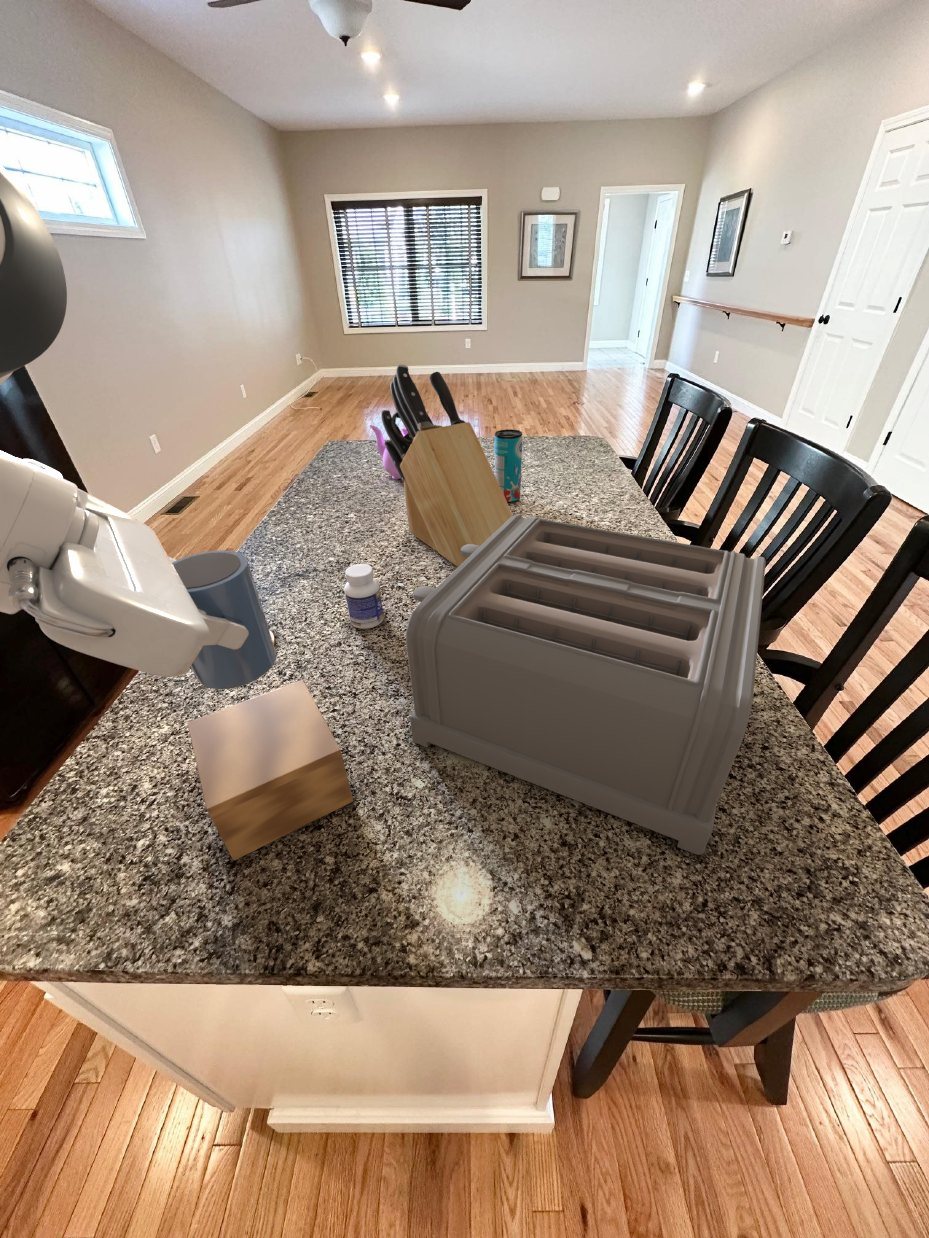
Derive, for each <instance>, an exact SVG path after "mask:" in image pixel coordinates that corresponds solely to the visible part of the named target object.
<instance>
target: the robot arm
mask: <svg viewBox="0 0 929 1238" xmlns="http://www.w3.org/2000/svg"><path fill="white" fill-rule="evenodd" d="M67 289H68V287H67V280H66V274H65V270H64V266H63V262H62V259H61V256H60V253H59V251H58V248H57V246H56V242H55V241H54V238H53V236H52V235H51V233H50V230H49V228H48V227H47V225H46V223H45V221H44V219H43V218H42V216H41V215H40V213H39V211H38V210H37V208H36V206H34V203H33V202H32V201H31V200H30V198H29V197H28V195H27V194H26V192H25V191H24V190H23V189H22V187H21V186H20V185H19V184H18V182H17V181H16V180H15V179H14V178H13V177H12V176H11V174H10V173H9V172H8V171H7V170H6V169H5V167H3V166H2V165H1V164H0V386H2V385H3V384H4V383H5V382H6V381H7V380H8V379H9V378H10V377H11V376H12V374H13V373H14V372H16V371H17V370H19V369H21V368H23V367H24V366H26V365H28V364H30V363H32V362H34V361H35V360H36V359H38V358H39V357H41V356H42V355H43V354H44V353H45V352H46V351H47V350H48V349H49V348H50V347H51V346H52V344H53V343H54V342H55V340H56V339H57V337H58V335H59V334H60V331H61V329H62V328H63V327H62V326H63V325H64V322H65V317H66V313H67V305H68V290H67ZM177 560H178V559H176V558H173V557H170V556H169V555H168V554H167V552H166V550H165V548H164V547H163V545H162V543H161V541H160V539H159V537H158V535H157V534H156V532H155V530H153V529H152V528H151V527H150V526H148V525H147V524H145V523H144V522H142V521H141V520H139V519H138V518H136V517H134V516H133V515H130V514H129V513H127V512H125V511H123V510H121V509H119V508H117V507H115V506H114V505H111V504H110V503H108V502H106V501H104V500H102V499H100V498H98V497H95V496H94V495H92V494H91V493H88V492H86V491H85V490H83V489H80V488H78V486H77V484H76V483H74V482H71V481H69V480H67V479H65V478H64V477H63V474H62V473H61V472H60V471H58V470H56V469H54V468H53V467H50V466H48V465H46V464H44V463H42V462H40V461H37V460H35V459H30V458H23V459H22V458H19V457H15V456H13V455H12V454H9V453H7V452H4V451H3V450H0V612H1V613H5V614H8V615H14V614H16V613H19V611H21V610H24V612H27V614H29V615H31V616H32V617H34V619H35V622H36V623H37V624H38V625H39V628H40V630H41V631H42V632H43V634H44V635H45V636H47V637H48V638H49V639H50V640H52V641H53V642H56V643H57V644H59V645H62V646H64V647H65V648H69V649H71V650H74V651H76V652H79V653H81V654H84V655H86V656H90V657H93V658H97V659H100V660H103V661H106V662H109V663H113V664H116V665H118V666H122V667H126V668H129V669H131V670H136V671H140V672H143V673H146V674H150V675H152V676H153V675H154V676H158V677H162V678H173V677H174V678H175V677H178V676H183V675H185V674H186V673H188V671H189V669H190V668H191V665H192V663H193V662H194V660H195V659H196V657H197V656H198V654H199V652H200V651H201V649H202V647H203V646H206V645H216V644H217V645H220V646H223V647H227V648H230V649H233V650H234V649H239V648H240V647H242V645H243V643H244V642H245V640H246V638H247V637H248V635H249V632H248V630H247V629H246V627H245V626H244V625H243V623H242V622H241V621H240V620H237V619H233V618H231V617H228V616H225V615H223V616H222V618H219V617H214V616H209V615H207V614H206V612H204V611H202V610H200V609H197V607H196V605H195V603H194V602H193V600H192V598H191V596H190V595H189V593H188V591H187V589H186V587H185V586H184V584H183V582H182V580H181V579H180V577H179V575H178V573H177V571H176V570H175V568H174V566H173V564H172V563H173V562H175V561H177Z"/></svg>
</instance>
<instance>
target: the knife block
mask: <svg viewBox="0 0 929 1238" xmlns="http://www.w3.org/2000/svg"><path fill="white" fill-rule="evenodd" d="M409 372H410V371H409V366H408V365H406V364H398V365H397V366H396V372H395V374H394V375H393V379H392V380H391V382H390V386H389V389H390V396H391V400H392V403H393V405H394V408H395V410H396V412H395V413H393V415H392V414H391V410H387V409H382V411H381V413H380V415H381V417H380V418H381V423H382V425H383V428H384V431H385V432H386V435H387V436H388V439H387V440H384V441H385V447H386V449H387V450H388V452H389V454H390V456H391V458H392V460H393V463H394V465H395V467H396V469H397V471H398V473H399V475H400V477H401V478H400V480H401V481H402V483H403V488H404V489H403V490H404V498H405V507H406V509H405V510H406V517H407V526H408V532H409V533H410V534H412V535H413V536H414V537H415V538H417V539H418V540H420V541H422V542H423V543H424V544H426V545H427V546H429V547H430V548H432V549H433V550H435V551H437V552H438V554H439V555H441V556H442V557H443V558H445V559H446V560H447V561H449V562H450V563H452V564H453V565H454V566H456V568H458V567H459V566H460V565H461V564H462V563H463V562H464V561H465V560H466V559H467V558H468V557H466V556H463V555H462V554H461V548H462V547H463V546H464V545H467V544H474V545H479V546H481V545H482V544H483V543H484V542H485V541H486V540H487V539H488V538H489V537H490V536H491V535H493V534H494V533H495V532H496V531H497V530H498V529H499V528H500V527H501V526H502V525H503V524H504V523H505V522H506V521H507V520H508V519H509V518H510V517H512V516H513V515H514V514H513V513H512V510H511V508H510V505H509V504H508V503H507V501H506V499H505V497H504V495H503V492H502V490H501V488H500V486H499V484H498V482H497V479H496V477H495V472H494V471H493V469H492V466H491V464H490V462H489V460H488V458H487V456H486V453H485V452H484V449H483V447H482V445H481V443H480V440H479V438H478V436H477V434H476V432H475V429H474V427H473V426H472V423H470V422H469V421H465V420H464V419H461V418H460V416H459V414H458V410H457V407H456V404H455V400H454V398H453V395H452V393H451V391H450V388H449V386H448V384H447V383H446V381H445V379H444V377H443V375H442V374H441V372H440V371H435V372H432V373H431V374H430V376H429V381H430V384H431V386H432V388H433V390H434V391H435V392H436V395H437V396H438V399H439V402H440V404H441V406H442V408H443V409H444V411H445V413H446V415H448V416H447V417H448V419H449V422H450V425H445V426H443V425H439V424H434V423H433V421H432V419H431V417H430V416H429V414H428V413H427V410H426V406H425V404H424V402H423V398H422V396H421V394H420V392H419V390H418V388H417V385H416V384H415V382H414V380H413V379H412V377H411V374H410V373H409ZM397 418H398V419H400V421H401V422H402V424H403V427H405V428H406V429H407V431H408V433H407V434H406V435H405V436H403V434H402V433H401V431H402V430H401V429H400V427H399V426H398V424H397ZM389 439H390V440H389Z"/></svg>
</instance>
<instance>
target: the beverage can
mask: <svg viewBox="0 0 929 1238" xmlns="http://www.w3.org/2000/svg"><path fill="white" fill-rule="evenodd" d="M522 458H523V432H522V431H521V430H518V429H512V428H511V429H508V428H507V429H500V430H497V431H495V432H494V475H495V477H496V479H497V482H498V484H499V486H500V488H501V490H502V492H503V495H504V497H505V499H506V501H507V503H508V505H511V504H515V503H517V502H519V501H520V499H521V493H522V492H521V489H522V465H523V464H522V460H523V459H522Z"/></svg>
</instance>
